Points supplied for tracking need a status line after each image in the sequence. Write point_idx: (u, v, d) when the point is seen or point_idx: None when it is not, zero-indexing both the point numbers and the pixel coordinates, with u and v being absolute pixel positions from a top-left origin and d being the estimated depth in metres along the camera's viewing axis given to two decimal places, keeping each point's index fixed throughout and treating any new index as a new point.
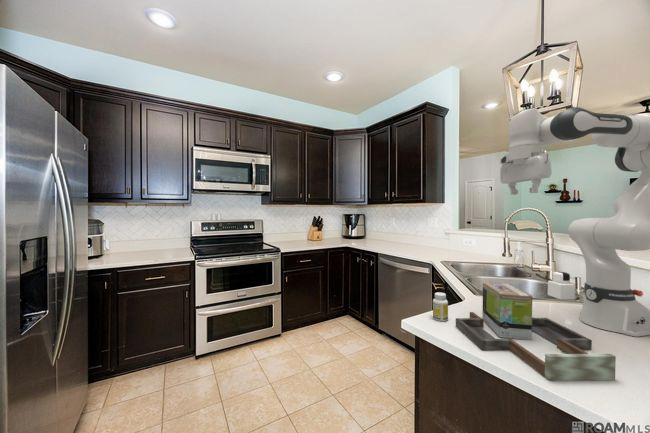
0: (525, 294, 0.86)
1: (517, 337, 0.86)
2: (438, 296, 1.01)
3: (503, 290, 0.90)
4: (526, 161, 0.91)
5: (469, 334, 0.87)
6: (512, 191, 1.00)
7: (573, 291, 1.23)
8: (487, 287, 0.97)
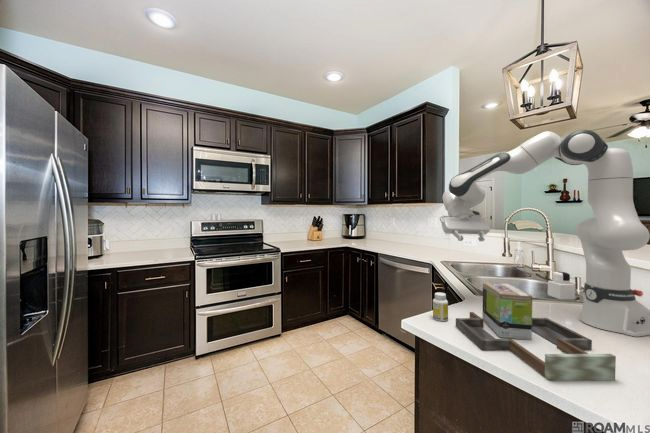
0: (525, 294, 0.86)
1: (517, 337, 0.86)
2: (438, 296, 1.01)
3: (503, 290, 0.90)
4: None
5: (469, 334, 0.87)
6: None
7: (573, 291, 1.23)
8: (487, 287, 0.97)
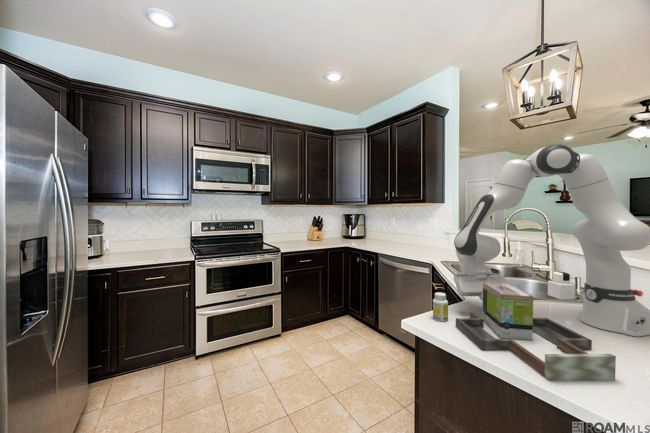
0: (526, 294, 0.86)
1: (518, 337, 0.86)
2: (438, 296, 1.01)
3: (504, 290, 0.90)
4: None
5: (469, 334, 0.87)
6: None
7: (573, 291, 1.23)
8: (487, 287, 0.97)
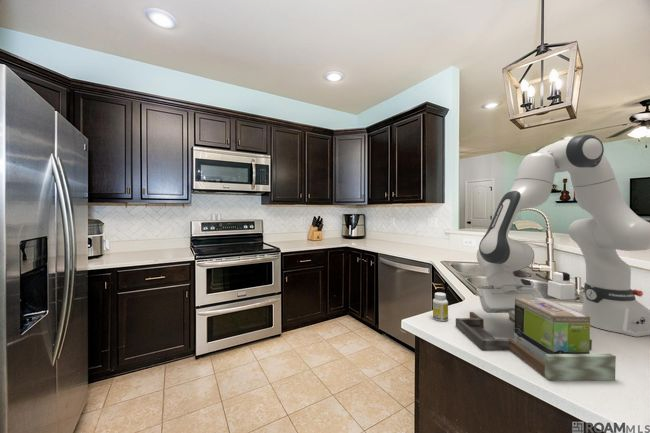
0: (580, 314, 0.70)
1: None
2: (438, 296, 1.01)
3: (551, 309, 0.73)
4: None
5: (469, 334, 0.87)
6: None
7: (573, 291, 1.23)
8: (525, 305, 0.79)
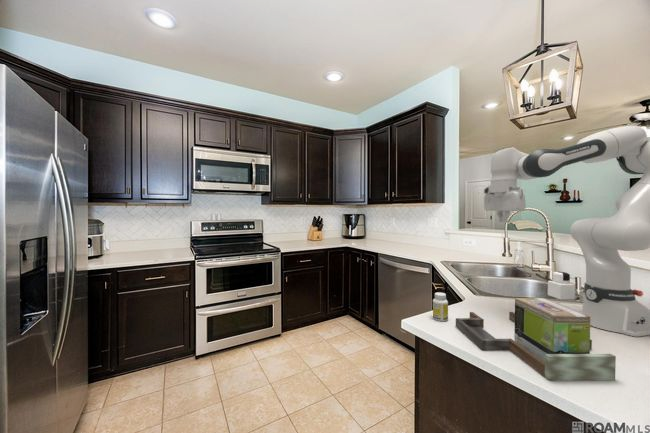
0: (581, 314, 0.70)
1: None
2: (438, 296, 1.01)
3: (551, 309, 0.73)
4: (505, 194, 1.04)
5: (469, 334, 0.87)
6: (500, 219, 1.08)
7: (573, 291, 1.23)
8: (525, 305, 0.79)
